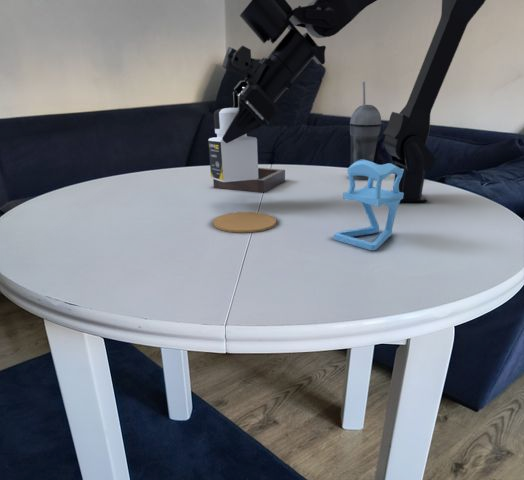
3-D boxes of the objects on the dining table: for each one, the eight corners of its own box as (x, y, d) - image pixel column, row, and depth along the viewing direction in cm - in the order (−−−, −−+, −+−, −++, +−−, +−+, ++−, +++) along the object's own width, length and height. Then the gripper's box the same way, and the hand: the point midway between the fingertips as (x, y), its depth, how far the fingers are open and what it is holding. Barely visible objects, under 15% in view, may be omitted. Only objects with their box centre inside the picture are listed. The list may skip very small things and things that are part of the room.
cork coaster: (276, 232, 80) (276, 230, 79) (209, 232, 80) (209, 230, 79) (275, 214, 89) (275, 211, 89) (216, 214, 89) (216, 212, 89)
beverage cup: (378, 181, 112) (389, 82, 101) (347, 181, 112) (354, 82, 101) (373, 174, 118) (383, 80, 107) (343, 174, 118) (350, 81, 108)
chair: (404, 238, 76) (416, 158, 70) (373, 251, 72) (382, 165, 65) (364, 228, 81) (372, 151, 75) (332, 239, 76) (338, 158, 70)
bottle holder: (285, 180, 113) (285, 169, 111) (263, 192, 103) (263, 180, 102) (238, 176, 117) (237, 165, 116) (213, 187, 107) (213, 175, 106)
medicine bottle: (210, 178, 93) (205, 109, 88) (245, 175, 95) (242, 107, 90) (222, 182, 87) (217, 108, 82) (259, 179, 89) (256, 106, 84)
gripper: (243, 29, 87) (188, 100, 92) (255, 23, 71) (187, 109, 76) (286, 78, 92) (231, 143, 97) (306, 82, 76) (239, 159, 81)
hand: (222, 138), depth 87 cm, fingers closed on medicine bottle, 7 cm apart
